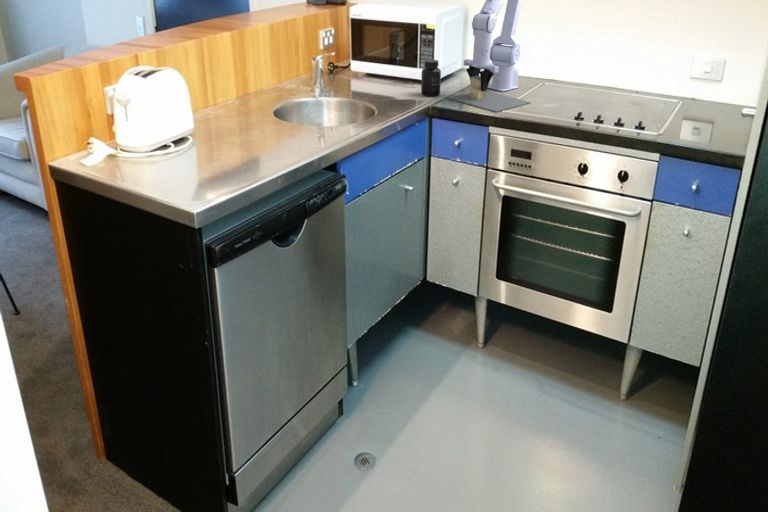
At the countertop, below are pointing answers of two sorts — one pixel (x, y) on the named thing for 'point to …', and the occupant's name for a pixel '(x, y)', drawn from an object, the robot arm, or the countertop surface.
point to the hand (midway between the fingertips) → (479, 89)
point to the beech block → (476, 88)
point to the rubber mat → (490, 101)
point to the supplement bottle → (431, 79)
